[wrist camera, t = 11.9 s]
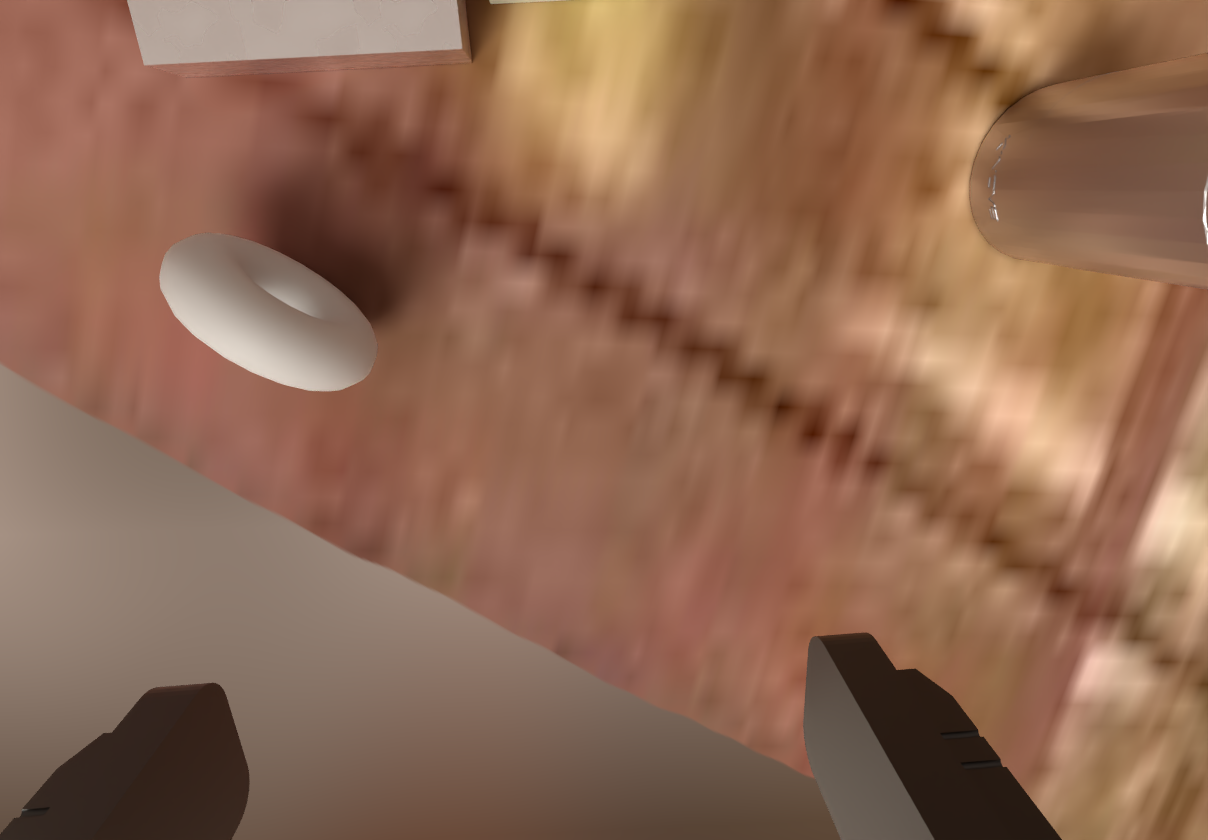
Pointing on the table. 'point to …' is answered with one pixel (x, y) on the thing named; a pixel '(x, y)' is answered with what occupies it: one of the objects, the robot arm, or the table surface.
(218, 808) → the robot arm
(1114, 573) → the table surface
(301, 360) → the donut
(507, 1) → the square base plate
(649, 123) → the table surface
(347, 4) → the flange
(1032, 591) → the table surface
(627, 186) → the table surface
